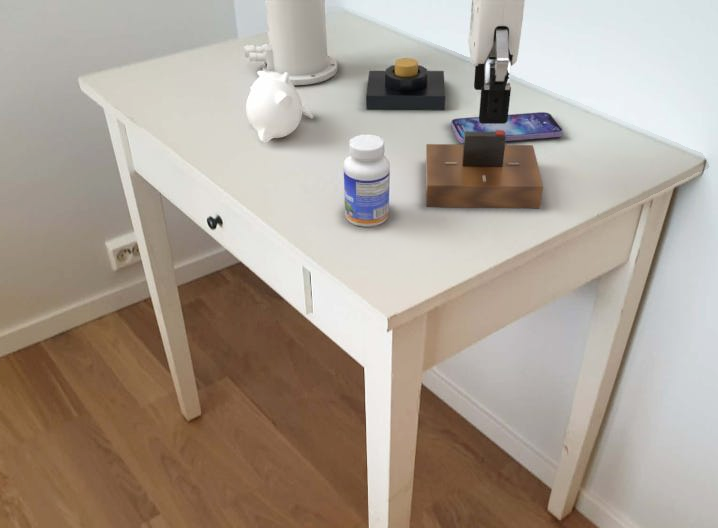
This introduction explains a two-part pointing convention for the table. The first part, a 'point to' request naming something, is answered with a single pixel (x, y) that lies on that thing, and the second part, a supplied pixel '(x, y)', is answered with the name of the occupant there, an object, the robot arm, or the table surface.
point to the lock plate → (482, 179)
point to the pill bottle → (366, 181)
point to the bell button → (406, 67)
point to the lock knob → (484, 148)
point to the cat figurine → (274, 106)
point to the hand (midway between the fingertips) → (489, 105)
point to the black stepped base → (405, 90)
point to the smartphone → (512, 126)
